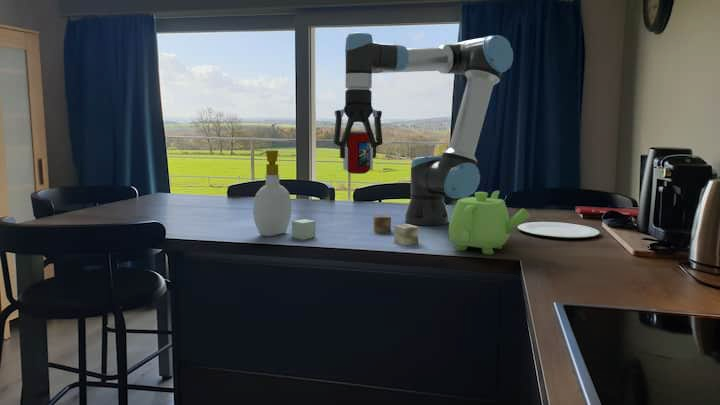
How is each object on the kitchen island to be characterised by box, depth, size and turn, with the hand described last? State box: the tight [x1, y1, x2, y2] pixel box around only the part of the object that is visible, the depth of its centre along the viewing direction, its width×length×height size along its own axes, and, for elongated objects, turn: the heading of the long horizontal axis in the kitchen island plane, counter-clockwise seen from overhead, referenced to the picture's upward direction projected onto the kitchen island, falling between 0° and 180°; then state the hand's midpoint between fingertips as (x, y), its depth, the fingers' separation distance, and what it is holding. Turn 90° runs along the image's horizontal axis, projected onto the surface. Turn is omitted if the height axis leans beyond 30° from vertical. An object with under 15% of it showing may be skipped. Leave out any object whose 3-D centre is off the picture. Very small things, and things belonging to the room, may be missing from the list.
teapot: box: [448, 190, 531, 255], centre depth 149 cm, size 25×22×16 cm
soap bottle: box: [253, 149, 292, 237], centre depth 165 cm, size 14×9×26 cm, turn 146°
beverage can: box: [346, 131, 371, 175], centre depth 156 cm, size 7×7×12 cm
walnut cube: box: [373, 214, 392, 234], centre depth 173 cm, size 5×5×5 cm
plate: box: [517, 221, 601, 240], centre depth 173 cm, size 25×25×2 cm
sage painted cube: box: [291, 218, 316, 240], centre depth 163 cm, size 5×5×5 cm
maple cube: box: [393, 223, 420, 246], centre depth 156 cm, size 5×5×5 cm
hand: (357, 169), depth 157 cm, fingers closed on beverage can, 7 cm apart
